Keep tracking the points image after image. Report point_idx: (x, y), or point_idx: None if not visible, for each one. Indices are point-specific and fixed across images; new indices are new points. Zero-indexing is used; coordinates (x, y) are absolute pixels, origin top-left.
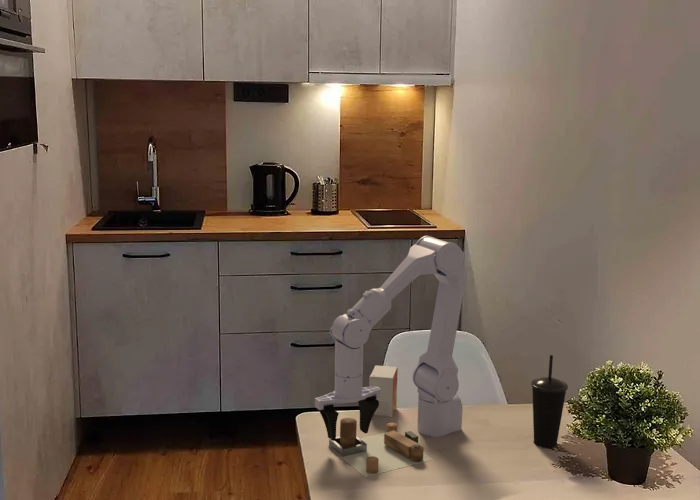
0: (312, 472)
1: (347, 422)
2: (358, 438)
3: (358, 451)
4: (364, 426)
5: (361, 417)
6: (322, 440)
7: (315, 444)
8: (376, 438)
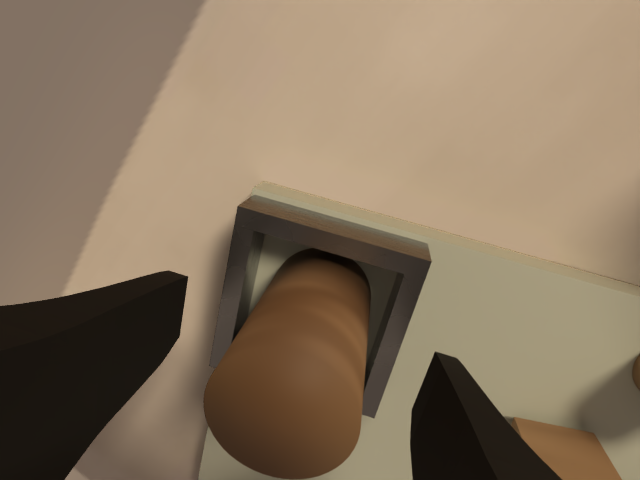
0: (73, 293)
1: (251, 428)
2: (394, 339)
3: None
4: (419, 441)
5: (453, 438)
6: (334, 33)
7: (259, 52)
8: (563, 327)
